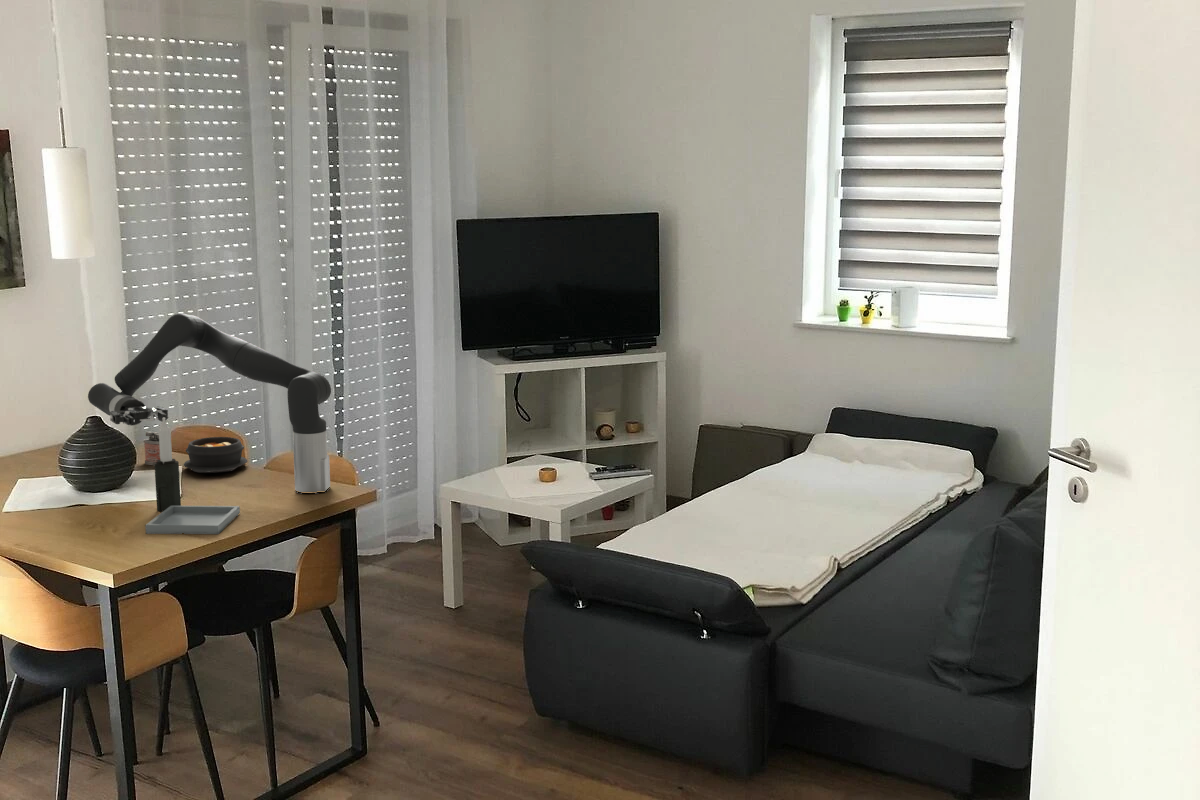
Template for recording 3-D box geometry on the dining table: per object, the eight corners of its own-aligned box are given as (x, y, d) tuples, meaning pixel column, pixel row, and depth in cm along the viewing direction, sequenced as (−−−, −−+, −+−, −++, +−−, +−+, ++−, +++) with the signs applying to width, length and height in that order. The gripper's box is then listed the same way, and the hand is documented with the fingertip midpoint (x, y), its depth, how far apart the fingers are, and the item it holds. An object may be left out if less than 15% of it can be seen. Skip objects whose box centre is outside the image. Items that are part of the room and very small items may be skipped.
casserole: (246, 476, 355) (245, 449, 353) (180, 480, 350) (179, 452, 348) (248, 458, 378) (247, 431, 377) (186, 460, 374) (185, 434, 372)
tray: (239, 514, 315) (239, 506, 314) (218, 534, 297) (218, 525, 297) (171, 513, 315) (170, 505, 314) (145, 533, 297) (145, 524, 297)
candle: (182, 507, 321) (177, 415, 317) (174, 512, 316) (168, 419, 312) (164, 506, 322) (158, 415, 317) (155, 511, 317) (149, 418, 312)
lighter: (170, 464, 369) (168, 432, 367) (162, 466, 366) (160, 434, 364) (150, 461, 372) (148, 430, 370) (142, 463, 369) (140, 432, 367)
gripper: (100, 398, 330) (121, 409, 318) (152, 393, 339) (174, 403, 327) (101, 425, 331) (122, 436, 319) (153, 419, 340) (175, 430, 328)
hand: (148, 420), depth 323 cm, fingers open, 8 cm apart
